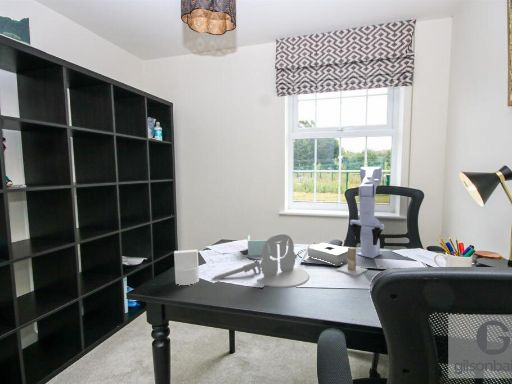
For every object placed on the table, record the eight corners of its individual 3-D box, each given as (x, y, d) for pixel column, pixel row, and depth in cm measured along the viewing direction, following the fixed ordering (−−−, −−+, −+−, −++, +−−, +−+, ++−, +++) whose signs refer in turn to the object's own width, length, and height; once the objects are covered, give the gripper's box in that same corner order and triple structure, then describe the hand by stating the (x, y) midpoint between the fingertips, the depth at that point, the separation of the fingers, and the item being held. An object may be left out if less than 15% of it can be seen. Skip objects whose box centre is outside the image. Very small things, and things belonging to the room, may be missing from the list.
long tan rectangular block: (350, 267, 117) (350, 247, 116) (355, 269, 115) (356, 248, 114) (347, 269, 116) (347, 248, 115) (352, 270, 114) (353, 249, 113)
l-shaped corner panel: (272, 255, 138) (271, 240, 137) (248, 255, 138) (247, 241, 137) (270, 247, 150) (270, 234, 149) (248, 248, 150) (248, 234, 149)
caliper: (260, 272, 116) (259, 258, 116) (260, 273, 115) (260, 259, 115) (211, 280, 110) (210, 264, 110) (211, 281, 109) (211, 265, 109)
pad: (347, 265, 122) (347, 263, 122) (367, 270, 115) (367, 269, 115) (336, 270, 116) (336, 269, 116) (356, 276, 109) (356, 275, 109)
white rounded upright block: (174, 286, 104) (172, 255, 103) (177, 277, 113) (175, 248, 112) (198, 284, 105) (197, 254, 104) (199, 275, 114) (198, 247, 113)
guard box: (322, 252, 141) (322, 242, 140) (351, 259, 129) (351, 249, 128) (307, 257, 133) (307, 247, 132) (337, 266, 121) (337, 255, 120)
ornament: (298, 268, 120) (298, 230, 118) (321, 278, 109) (321, 236, 107) (255, 280, 108) (254, 238, 106) (276, 293, 97) (275, 246, 95)
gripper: (346, 211, 122) (346, 241, 123) (379, 215, 111) (378, 248, 112) (354, 209, 127) (354, 238, 128) (387, 213, 116) (386, 244, 117)
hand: (366, 243), depth 120 cm, fingers open, 7 cm apart
